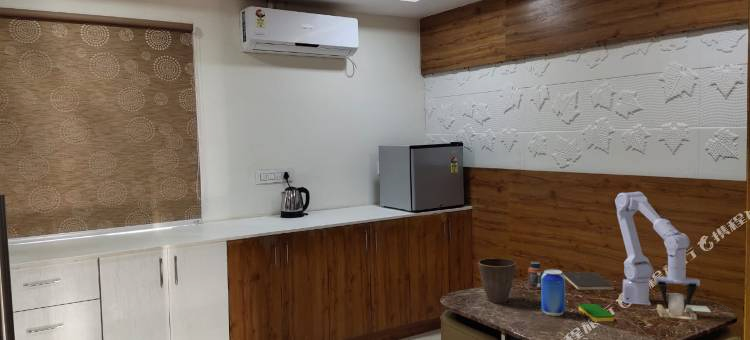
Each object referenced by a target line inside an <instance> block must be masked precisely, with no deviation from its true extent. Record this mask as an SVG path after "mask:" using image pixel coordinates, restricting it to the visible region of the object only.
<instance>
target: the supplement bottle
mask: <svg viewBox="0 0 750 340" xmlns="http://www.w3.org/2000/svg"><path fill="white" fill-rule="evenodd" d="M527 273H528V277H527V278H528V280H527V281H528V282H527V283H528V284H527V285H528V288H529V289H531V288H532V290H542V284H541V277H542V275H543V268H542V267H541V262H539V261H531V262H530V266H529V267H528V272H527Z"/></svg>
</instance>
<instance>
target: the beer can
mask: <svg viewBox="0 0 750 340" xmlns="http://www.w3.org/2000/svg"><path fill="white" fill-rule="evenodd" d="M562 272H563V271H562V270H559V269H552V268H551V269H545V270H544V271H543V272H542V277H541V284H542V288H541V311H542V312H543V314H544V313H545V315H546V314H547V316H550V315H551V316H550V317H561V316H562V315H564V313H565V312H566V278H565V277H564V276H563V273H562ZM560 315H561V316H560Z"/></svg>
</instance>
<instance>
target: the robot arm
mask: <svg viewBox="0 0 750 340" xmlns="http://www.w3.org/2000/svg"><path fill="white" fill-rule="evenodd" d="M614 203H615V207H616V216H617V217H616V218H617V219H618V224H619V228H620V231H621V235H622V239H623V244H624V246H625V251H626V255H627V258H626V259H625V260H624V262H623V265H624V269H623V270H624V271H623V272H624V275H625V277H626V279H624V278H623V279H622V296H621V298H622V299H623V302H624V303H625V304H635V305H647V306H649V305H652V303H651V301H650V300H649V297H650V296H649V294H650V292H649V291H650V290H649V289H650V286H649V285H650V280H651V278H652V277H654V279H653V283H655V284H657V285H658V287H659V290H660V293H661V297H662V301H663V303H664V304H667V288H668V287H667V284H675V285H676V284H677V285H686V305H691V301H692V298H693V295H694V294H695V293H696V291H697V289H698V286H699V287H700V286H701V281H700V279H699V278H691V277H686V276H687V275H686V273H687V268H686V267H687V249H689V247H690V245H691V240H690V238H689V237H688V235H687V234H686V233H682V232H681V231H679V230H678V229H677V228H675V227H674V226H673V224H671V221H670V220H669V219H666V218H662V217H661V216H660V215H659V214H658V213H657V212H656V210H655V209H654V208H653V206H652V205H651V204H650V202H648V198H647V196H645V194H644V193H643V192H641V191H634V192H633V191H631V192H620V193H618V194H617V196H616V198H615V200H614ZM638 211H639V212H640V213H641V214H642V215H644V216H645V218H646V219H648V221H650V222H651V223H652V224H653V225H652V229H653V230H654V231H655V232H656V233H657V234H658V235H659V236H660V237H661V238H662V240H663V243H664V247H665V249H666V253H667V276H654V272H655V271H654V267H653V266H652V264H651V263H650V260H649V258H648V257H646V256H645V255H644V254H643V252H642V251H643V250H642V247H641V243H640V240H639V236H638V231H637V229H636V225H635V221H634V215H635V213H636V212H638Z"/></svg>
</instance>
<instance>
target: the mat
mask: <svg viewBox="0 0 750 340" xmlns="http://www.w3.org/2000/svg"><path fill="white" fill-rule="evenodd" d="M685 307H691V309H692V310H693V311H694V312H704V313H711V312H712V311H711V310H710V309H709V308H708V306H706V305H695V304H694V305H692V304H690V305H688V304H685Z"/></svg>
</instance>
